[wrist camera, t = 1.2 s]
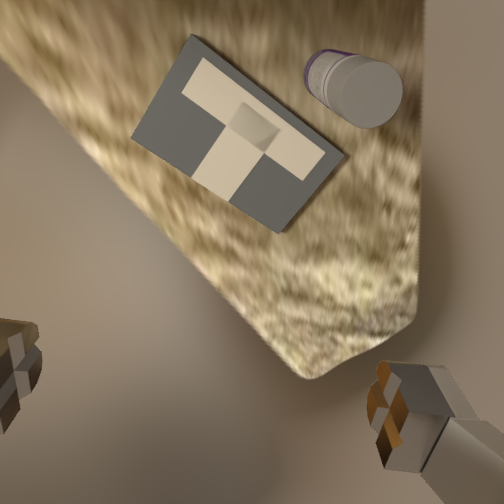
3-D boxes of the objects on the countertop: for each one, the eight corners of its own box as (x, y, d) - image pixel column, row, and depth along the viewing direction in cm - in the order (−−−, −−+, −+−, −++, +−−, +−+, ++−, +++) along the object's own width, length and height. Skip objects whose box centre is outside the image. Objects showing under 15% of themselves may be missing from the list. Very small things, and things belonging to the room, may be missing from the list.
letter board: (132, 135, 43) (130, 138, 42) (191, 33, 38) (190, 33, 37) (277, 230, 49) (278, 234, 48) (342, 152, 45) (345, 155, 44)
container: (357, 71, 41) (418, 91, 28) (325, 108, 42) (368, 143, 29) (325, 37, 39) (374, 43, 26) (293, 77, 41) (324, 101, 28)
